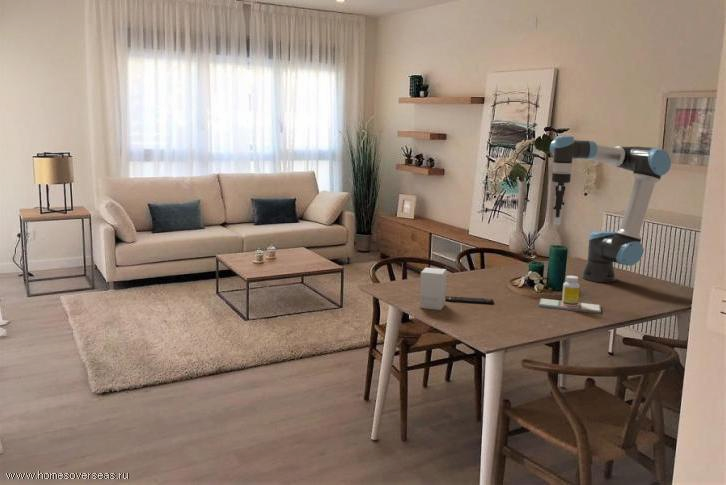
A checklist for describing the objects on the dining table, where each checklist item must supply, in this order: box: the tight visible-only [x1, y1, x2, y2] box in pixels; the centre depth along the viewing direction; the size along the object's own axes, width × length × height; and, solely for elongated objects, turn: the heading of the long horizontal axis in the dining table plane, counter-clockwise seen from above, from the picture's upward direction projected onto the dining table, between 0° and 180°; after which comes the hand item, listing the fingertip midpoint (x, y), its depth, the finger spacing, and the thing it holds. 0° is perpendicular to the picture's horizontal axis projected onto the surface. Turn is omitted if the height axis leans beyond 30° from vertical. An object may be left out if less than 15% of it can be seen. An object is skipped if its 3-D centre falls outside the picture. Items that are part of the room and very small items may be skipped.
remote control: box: [445, 295, 495, 305], centre depth 267 cm, size 5×24×1 cm, turn 81°
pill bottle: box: [561, 275, 581, 306], centre depth 261 cm, size 6×6×12 cm
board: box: [538, 297, 602, 315], centre depth 262 cm, size 10×24×1 cm, turn 71°
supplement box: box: [419, 267, 447, 311], centre depth 258 cm, size 9×9×15 cm
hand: (557, 222), depth 275 cm, fingers open, 13 cm apart
